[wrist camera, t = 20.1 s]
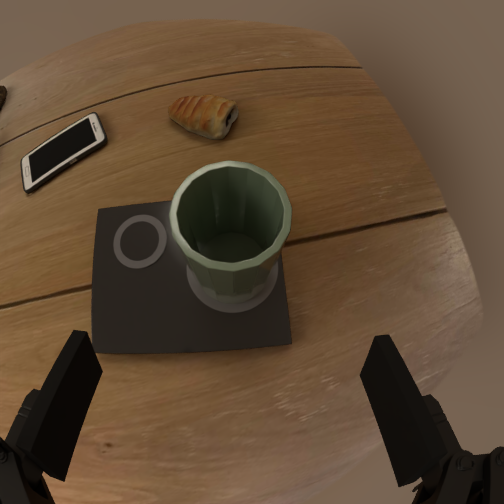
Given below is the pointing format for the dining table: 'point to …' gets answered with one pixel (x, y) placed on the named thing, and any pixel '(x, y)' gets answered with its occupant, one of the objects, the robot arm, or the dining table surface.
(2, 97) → the bread roll
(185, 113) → the pastry
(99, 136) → the cell phone
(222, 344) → the hob
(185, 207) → the cup
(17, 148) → the dining table surface
